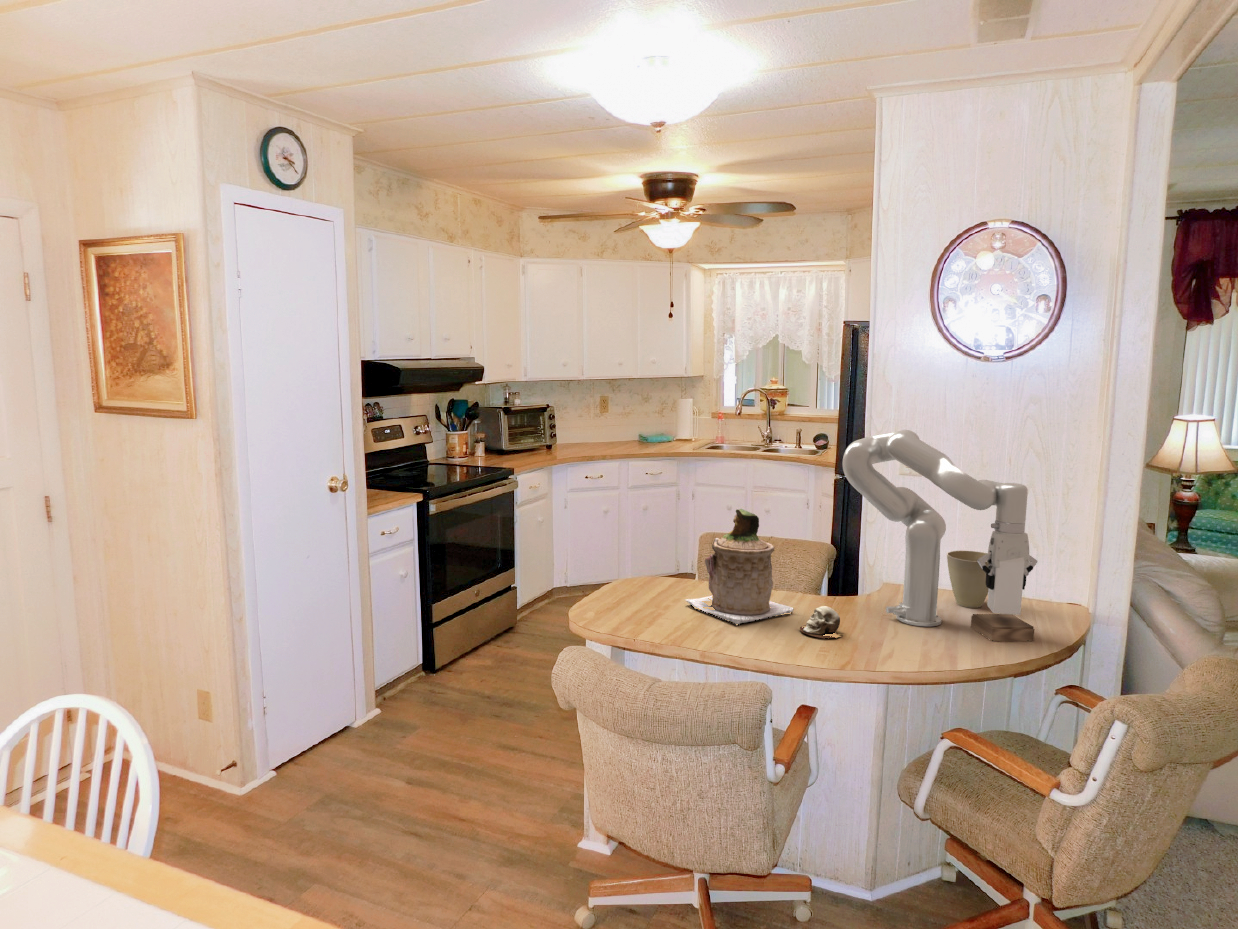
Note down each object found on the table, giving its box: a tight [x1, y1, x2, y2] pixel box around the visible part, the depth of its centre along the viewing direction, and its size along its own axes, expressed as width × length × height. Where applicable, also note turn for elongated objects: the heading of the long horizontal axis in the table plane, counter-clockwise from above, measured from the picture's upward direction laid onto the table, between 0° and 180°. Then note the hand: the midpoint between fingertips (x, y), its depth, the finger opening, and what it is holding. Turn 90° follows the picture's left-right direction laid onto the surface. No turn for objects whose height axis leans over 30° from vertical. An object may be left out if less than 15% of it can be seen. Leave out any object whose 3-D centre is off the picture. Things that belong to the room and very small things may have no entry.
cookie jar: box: [684, 508, 795, 625], centre depth 251 cm, size 25×25×32 cm
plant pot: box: [946, 550, 989, 609], centre depth 261 cm, size 15×15×16 cm
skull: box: [799, 605, 841, 640], centre depth 233 cm, size 12×10×10 cm
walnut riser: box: [970, 613, 1035, 642], centre depth 234 cm, size 12×12×4 cm
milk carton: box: [986, 557, 1025, 616], centre depth 232 cm, size 7×7×19 cm
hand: (1005, 588), depth 233 cm, fingers closed on milk carton, 8 cm apart
